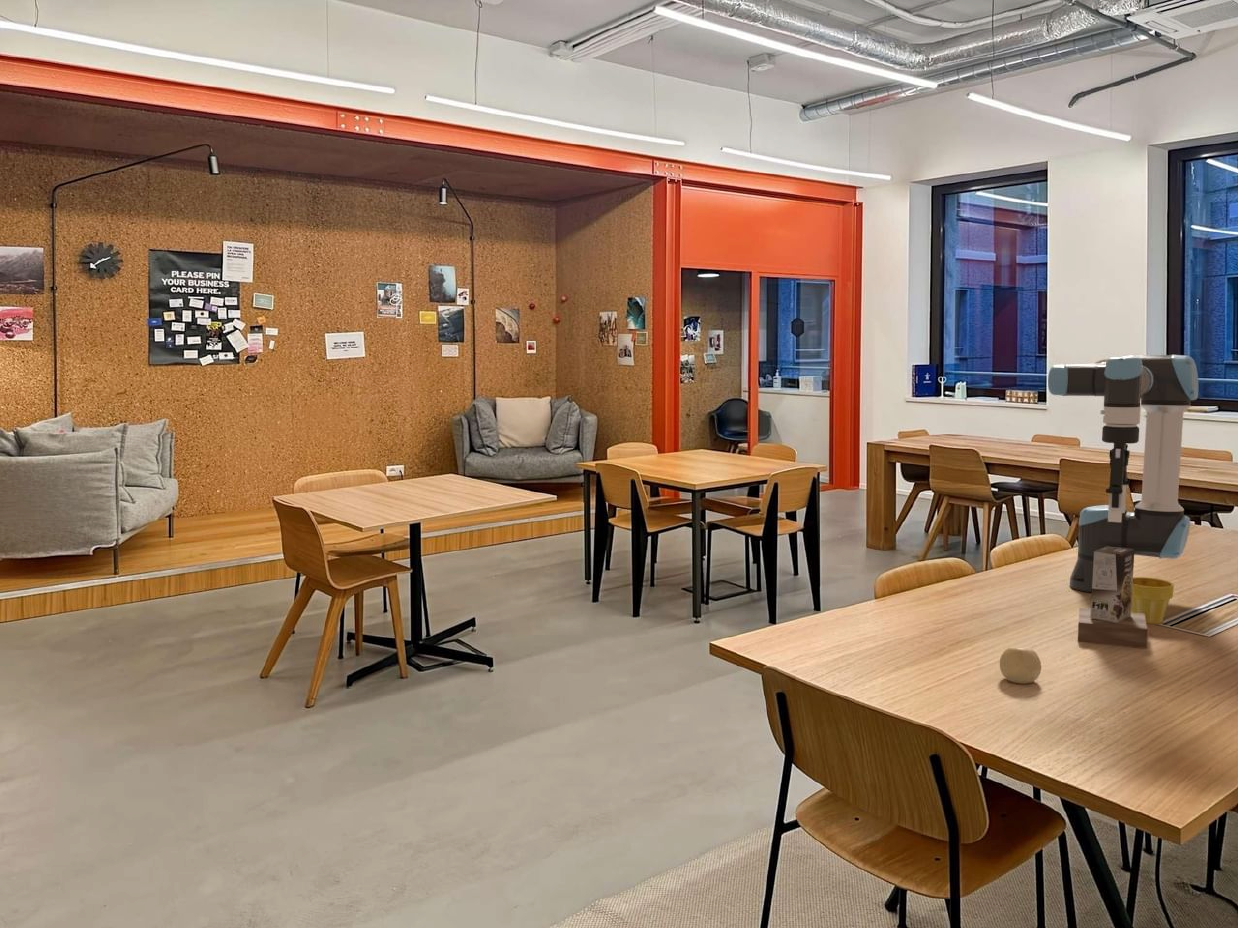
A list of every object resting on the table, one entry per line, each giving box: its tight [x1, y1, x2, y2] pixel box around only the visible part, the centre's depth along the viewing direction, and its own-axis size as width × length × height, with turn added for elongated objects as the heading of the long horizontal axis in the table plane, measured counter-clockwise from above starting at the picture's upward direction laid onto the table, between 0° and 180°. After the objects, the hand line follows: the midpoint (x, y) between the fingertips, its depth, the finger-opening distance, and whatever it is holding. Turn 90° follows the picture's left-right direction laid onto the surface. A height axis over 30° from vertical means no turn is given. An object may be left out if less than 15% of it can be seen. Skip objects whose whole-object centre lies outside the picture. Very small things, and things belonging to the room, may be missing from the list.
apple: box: [999, 647, 1042, 685], centre depth 202 cm, size 8×8×8 cm
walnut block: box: [1077, 607, 1148, 650], centre depth 232 cm, size 14×14×5 cm
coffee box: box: [1090, 546, 1135, 623], centre depth 231 cm, size 9×6×16 cm
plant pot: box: [1131, 576, 1175, 625], centre depth 244 cm, size 10×10×10 cm
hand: (1116, 517), depth 229 cm, fingers open, 13 cm apart
